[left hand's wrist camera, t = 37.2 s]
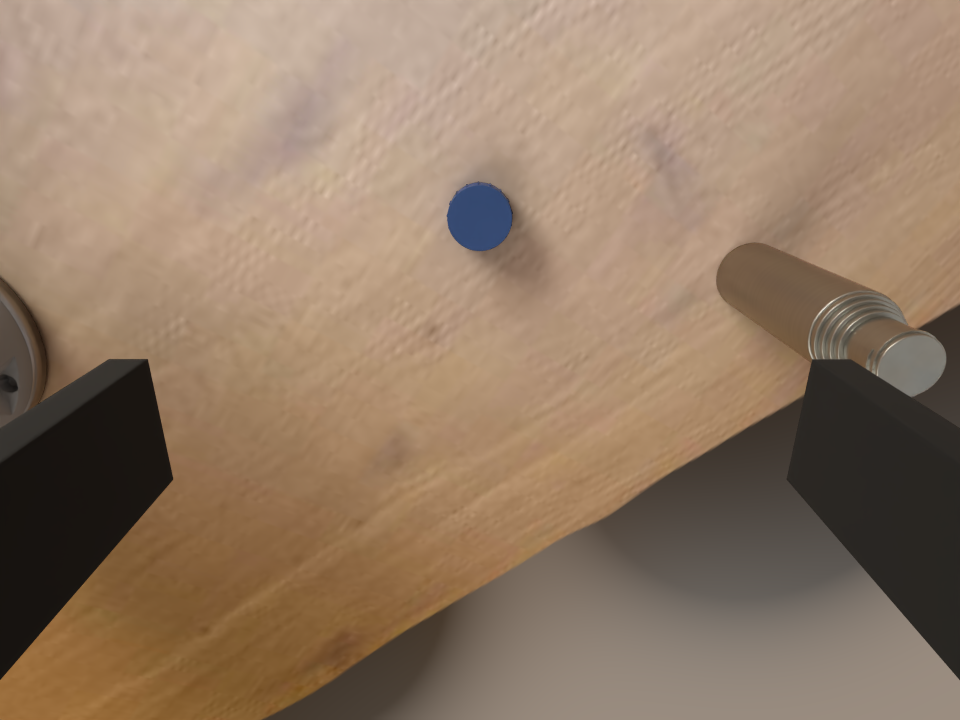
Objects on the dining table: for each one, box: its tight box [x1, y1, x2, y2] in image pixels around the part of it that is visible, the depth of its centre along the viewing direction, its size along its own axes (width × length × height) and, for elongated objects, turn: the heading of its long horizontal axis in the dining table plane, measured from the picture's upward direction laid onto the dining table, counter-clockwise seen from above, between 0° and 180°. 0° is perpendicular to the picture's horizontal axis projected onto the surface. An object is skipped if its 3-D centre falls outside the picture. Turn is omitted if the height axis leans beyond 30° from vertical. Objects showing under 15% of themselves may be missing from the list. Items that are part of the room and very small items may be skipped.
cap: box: [447, 182, 513, 251], centre depth 39 cm, size 4×4×2 cm
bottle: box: [716, 243, 946, 397], centre depth 34 cm, size 4×4×17 cm
